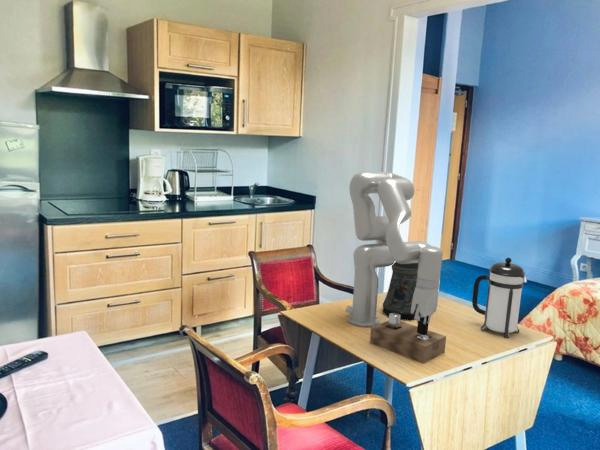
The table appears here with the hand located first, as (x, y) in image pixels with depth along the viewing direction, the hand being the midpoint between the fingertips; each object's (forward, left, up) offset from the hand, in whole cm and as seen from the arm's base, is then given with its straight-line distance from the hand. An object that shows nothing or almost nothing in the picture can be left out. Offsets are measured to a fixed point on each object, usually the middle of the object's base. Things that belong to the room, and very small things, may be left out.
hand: (422, 333), depth 177 cm
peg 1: (-11, 0, -3) cm, 12 cm away
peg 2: (+1, 0, -7) cm, 7 cm away
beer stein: (-27, +31, -7) cm, 42 cm away
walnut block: (-5, 0, -7) cm, 9 cm away
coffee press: (+9, +43, -7) cm, 44 cm away
